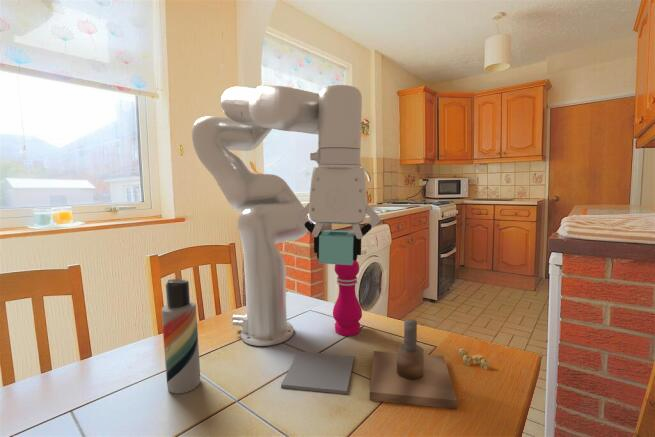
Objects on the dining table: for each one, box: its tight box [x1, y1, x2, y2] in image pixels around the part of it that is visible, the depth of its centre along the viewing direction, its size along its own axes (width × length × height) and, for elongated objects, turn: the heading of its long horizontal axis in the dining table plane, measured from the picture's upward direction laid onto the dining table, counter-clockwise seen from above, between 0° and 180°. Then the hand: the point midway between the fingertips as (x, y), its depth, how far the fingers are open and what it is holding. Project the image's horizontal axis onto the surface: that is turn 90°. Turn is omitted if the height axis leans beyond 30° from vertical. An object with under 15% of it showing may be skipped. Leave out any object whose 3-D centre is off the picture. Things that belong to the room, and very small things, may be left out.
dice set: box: [458, 348, 490, 370], centre depth 69 cm, size 5×5×2 cm
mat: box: [280, 351, 355, 395], centre depth 66 cm, size 12×12×1 cm
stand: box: [369, 318, 458, 410], centre depth 63 cm, size 14×14×11 cm
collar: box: [318, 229, 355, 265], centre depth 63 cm, size 6×6×5 cm
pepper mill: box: [332, 260, 363, 337], centre depth 83 cm, size 7×7×20 cm
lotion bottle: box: [161, 278, 201, 395], centre depth 62 cm, size 6×6×20 cm
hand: (337, 256), depth 63 cm, fingers closed on collar, 5 cm apart
